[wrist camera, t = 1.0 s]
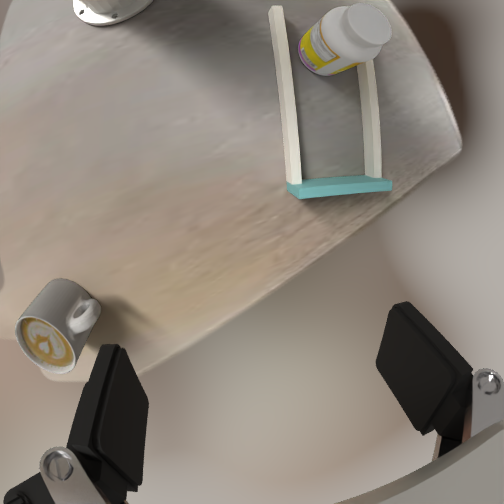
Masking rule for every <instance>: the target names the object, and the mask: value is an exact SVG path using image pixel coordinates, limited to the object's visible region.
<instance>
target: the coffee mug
mask: <svg viewBox="0 0 504 504" xmlns="http://www.w3.org/2000/svg"><path fill="white" fill-rule="evenodd" d="M100 313H101V306H100V304H99V303H98V301H97V300H95V299H91V297H90V296H89V294H88V293H87V292H86V291H85V290H84V289H83V288H82V287H81V286H80V285H78V284H76V283H75V282H73V281H70V280H68V279H54V280H52V281H50V282H49V283H48V284H47V285H46V286H45V287H44V289H43V290H42V291H41V292H40V293H39V294H38V296H37V297H36V298H35V299H34V300H33V302H32V303H31V304H30V305H29V307H28V308H27V309H26V310H25V312H24V313H23V314H22V315H21V317H20V318H19V319H18V321H17V323H16V326H15V335H16V339H17V341H18V343H19V346H20V347H21V349H22V350H23V352H24V353H25V354H26V356H27V357H28V358H29V359H30V360H31V361H33V362H34V363H35V364H36V365H38V366H39V367H41V368H42V369H44V370H46V371H49V372H52V373H56V374H65V373H68V372H70V371H72V370H73V368H74V367H75V365H76V363H77V360H78V358H79V356H80V354H81V351H82V349H83V347H84V345H85V343H86V341H87V338H88V336H89V334H90V332H91V330H92V328H93V326H94V324H95V322H96V321H97V320H98V318H99V316H100Z"/></svg>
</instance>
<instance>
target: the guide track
mask: <svg viewBox="0 0 504 504" xmlns="http://www.w3.org/2000/svg"><path fill="white" fill-rule="evenodd" d="M268 16H269V23H270V30H271V37H272V45H273V52H274V60H275V68H276V76H277V85H278V94H279V103H280V113H281V122H282V133H283V144H284V155H285V167H286V179H287V191H289V192H290V193H291V194H293V195H294V196H296V197H297V198H298V199H304V198H313V197H323V196H333V195H343V194H354V193H366V192H378V191H392V181H390V180H387V179H384V178H382V166H381V136H380V119H379V107H378V96H377V87H376V78H375V71H374V64H373V59H372V60H369V61H367V62H364V63H361V64H359V65H357V73H358V81H359V90H360V99H361V110H362V123H363V139H364V162H365V175H358V176H343V177H329V178H317V179H305V180H302V177H301V162H300V149H299V137H298V126H297V115H296V105H295V96H294V87H293V78H292V70H291V62H290V55H289V47H288V40H287V33H286V27H285V20H284V14H283V8H282V6H272V7H271V9H270V10H269V12H268Z"/></svg>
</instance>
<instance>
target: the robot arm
mask: <svg viewBox="0 0 504 504" xmlns="http://www.w3.org/2000/svg"><path fill="white" fill-rule="evenodd" d="M152 2H153V0H73V9H74V12H75V14H76V15H77V17H78V18H79V19H81V20H82V21H83V22H85V23H87V24H90V25H94V26H105V25H111V24H115V23H119V22H121V21H124V20H127V19H129V18H131V17H132V16H134V15H136V14H138V13H139V12H141V11H142V10H144V9H145V8H146V7H147V6H148V5H149V4H151V3H152ZM116 17H117V18H116ZM376 367H377V369H378V371H379V372H380V373H381V375H382V377H383V378H384V380H385V381H386V383H387V385H388V386H389V388H390V389H391V391H392V392H393V394H394V396H395V397H396V398H397V400H398V402H399V404H400V405H401V407H402V408H403V410H404V412H405V413H406V415H407V416H408V418H409V420H410V421H411V423H412V425H413V426H414V428H415V429H416V430H417V431H420V432H421V434H422V435H425V434H427V433H429V432H431V431H433V430H434V429H435V430H436V431H437V439H436V444H435V449H434V454H433V458H432V462H431V463H429V464H427V465H425V466H424V467H422V468H420V469H418V470H416V471H414V472H412V473H410V474H408V475H406V476H404V477H402V478H400V479H398V480H395V481H393V482H391V483H389V484H386V485H384V486H382V487H379V488H377V489H375V490H372V491H369V492H367V493H364V494H361V495H359V496H356V497H353V498H350V499H347V500H344V501H341V502H338V503H335V504H504V382H503V379H502V378H501V376H500V375H499V374H498V373H497V372H495V371H494V370H491V369H484V368H483V369H480V370H478V371H477V372H475V374H474V376H473V375H472V374H471V372H472V371H473V368H472V367H471V366H470V365H469V364H468V363H467V361H466V360H465V359H464V358H463V357H462V356H461V355H460V354H459V353H458V351H456V349H455V348H454V347H453V346H452V345H451V344H450V343H449V342H448V341H447V340H446V339H445V338H444V337H443V335H441V333H440V332H439V331H438V330H437V329H436V328H435V327H434V326H433V325H432V324H431V323H430V322H429V321H428V320H427V319H426V318H425V317H424V316H423V315H422V314H421V313H420V312H419V311H418V310H417V309H416V308H415V307H414V306H413V305H412V304H411V303H410V302H407V301H406V302H402V303H399V304H395V305H394V306H393V307H392V309H391V310H390V311H389V314H388V318H387V322H386V326H385V330H384V334H383V338H382V341H381V345H380V349H379V352H378V356H377V359H376ZM148 408H149V402H148V398H147V396H146V394H145V392H144V390H143V387H142V386H141V383H140V381H139V379H138V377H137V375H136V373H135V370H134V368H133V366H132V364H131V362H130V359H129V357H128V355H127V352H126V350H125V349H124V348H121V347H120V346H119V345H118V344H106V345H102V346H101V347H100V350H99V353H98V356H97V358H96V361H95V364H94V367H93V370H92V372H91V375H90V378H89V381H88V382H87V383H86V384H85V386H84V388H83V391H82V394H81V398H80V401H79V404H78V407H77V410H76V414H75V417H74V421H73V424H72V428H71V431H70V435H69V439H68V443H67V447H66V448H65V447H53V448H50V449H49V450H47V451H46V452H45V453H44V454H43V456H42V457H41V460H40V468H39V469H40V472H39V473H38V474H36V475H34V476H32V477H31V478H29V479H27V480H26V481H24V482H23V483H21V484H19V485H17V486H15V487H14V488H12V489H10V490H9V491H8V492H7V493H6V495H5V497H4V504H129V503H128V502H127V501H126V496H127V491H133V492H137V491H138V485H139V486H140V485H141V484H142V480H143V463H144V448H145V437H146V426H147V416H148Z"/></svg>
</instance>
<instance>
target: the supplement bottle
mask: <svg viewBox="0 0 504 504" xmlns="http://www.w3.org/2000/svg"><path fill="white" fill-rule="evenodd" d="M391 34H392V30H391V25H390V23H389V21H388V19H387V17H386V16H385V15H384V14H383V13H382V12H381V11H380V10H379V9H378V8H376V7H374V6H373V5H370V4H367V3H356V4H353V5H352V6H350V7H348V6H341V7H336V8H334V9H332V10H330V11H329V12H328V13H326V14H325V15H324V16H323V17H322V18H321V19H320V20H319V21H318V22H317V23H316V24H315V25H314V26H313V27H312V28H311V29H310V30H309V31H308V32H307V33H305V35H304V36H303V37H302V38H301V39H300V41H299V44H298V54H299V57H300V59H301V61H302V62H303V64H304V65H305V66H306V67H307V68H308V69H309V70H311V71H312V72H314V73H316V74H319V75H324V76H330V75H335V74H337V73H340V72H342V71H345V70H347V69H349V68H352V67H354V66H357V65H359V64H361V63H364V62H367V61H369V60H372V59H373V58H375V57H376V56H377V55H378V54H379V52H380V51H381V48H382V45H383V44H385V43H387V42H388V41H389V40H390V38H391Z"/></svg>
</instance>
